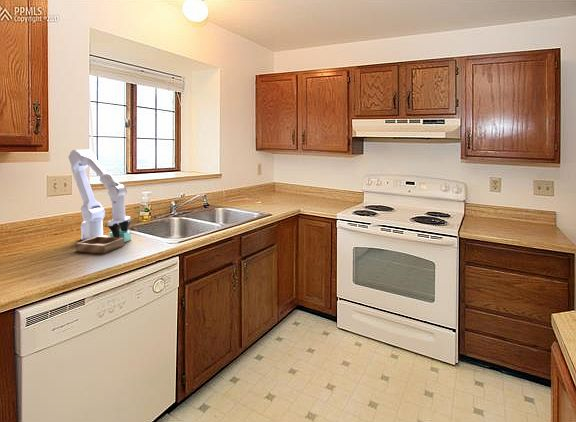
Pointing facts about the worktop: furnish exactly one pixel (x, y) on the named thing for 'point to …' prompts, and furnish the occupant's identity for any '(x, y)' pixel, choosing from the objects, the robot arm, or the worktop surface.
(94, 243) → the tray
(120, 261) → the worktop surface
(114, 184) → the robot arm
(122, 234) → the teal crate
